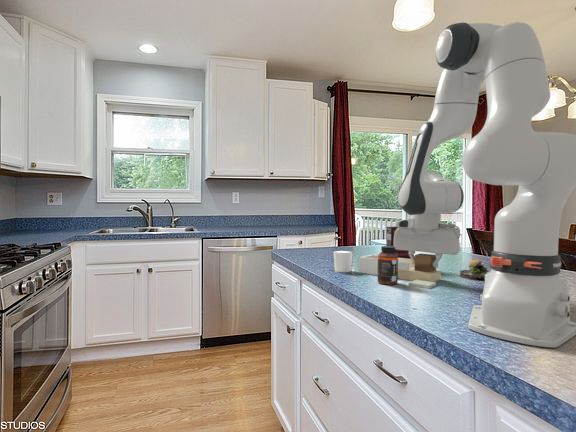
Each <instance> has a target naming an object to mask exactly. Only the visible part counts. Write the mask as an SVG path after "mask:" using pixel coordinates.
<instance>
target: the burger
mask: <svg viewBox="0 0 576 432" xmlns="http://www.w3.org/2000/svg"><path fill="white" fill-rule="evenodd" d="M471 257H473V256H472V255H471ZM482 263H483V262H482V260H480V259H472V261H470V262H469V264H468V268H469V269H462V270H459V277H460V278H462V279H466V280H472V281H476V280H477V279H480V280H481V279H483V280H485V275H486V274H487V273H489V272H490V271H489V270H488V269H487V267H485V266H484V265H483V264H482Z"/></svg>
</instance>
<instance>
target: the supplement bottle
mask: <svg viewBox="0 0 576 432" xmlns="http://www.w3.org/2000/svg"><path fill="white" fill-rule="evenodd" d="M380 251H381V252H379V253H378V254H377V255H378V275H377V283H379V284H380V285H387V286H389V285H390V286H391V285H392V286H394V285H397V284H398V280H399V279H398V255H397V254H396V253H395V247H394V246H386V245H382V246H381V248H380Z"/></svg>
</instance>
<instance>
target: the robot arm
mask: <svg viewBox="0 0 576 432" xmlns="http://www.w3.org/2000/svg"><path fill="white" fill-rule="evenodd" d="M434 57H435V60H436V63H437V65H438V66H439V67H440V68H442V69H443V70H442V72H441V75H440V77H439V80H438V85H437V88H436V92H435V97H434V103H433V110H432V112H431V115H430V117H429V118H428V120H427V121H426V122H425V123H424V124H422V125H421V126H420V128H419V130H418V132H417V135H416V137H415V140H414V144H413V147H412V151H411V153H410V157H409V161H408V165H407V168H406V172H405V174H404V178H403V181H402V183H401V185H400V187H399V189H398V190H399V191H398V194H397V202H398V205H399V207H400V208H401V210H403V212H405V213H406V214H407V215H409V216H410V217H408V218H405V219H401V220H398V221H396V223H395V227H398V228H397V229H396V231H395V233H394V247H395V249H398V250H408V251H409V253H408V254H409V256H410V258H411V259H412V265H415V255H416V252H419V253H420V252H421V253H428V254H434V255H435V256H436V260H435V261H433V262H432V267H435V268H436V269H437V268H439V262H440V261H441V259H442V258H443V255H453V256H454V255H455V256H456V255H458V254H459V253H460V251H461V246H460V237H461V229H460V227H459V226H458V225H456V224H453V223H448V224H447V223H441V221H442V220H441V219H442V218H441V217H442V214H452V213H456V212H458V211H459V210H460V209H461V207H462V205H463V204H464V199H465V198H464V197H465V194H464V190H463V187H461V185H460V183H458V182H456V181H452V180H449V179H446V178H444V177H442V175H441V174H440V172H438V171H434V170H430V171H429V170H427V169H428V166H429V162H430V159H431V157H432V153H433V152H434V150H435V149H436V148H437V147H438V146H439V145H441V144H443V143H445V142H448V141H451V140H453V139H456V138H458V137H461V136H462V135H463V134H465V133H467V132H468V131H469V130H470V129H472V127H473V125H474V122H475V121H476V117H477V112H478V104H479V99H480V98H479V96H480V91H481V90H480V89H481V86H482V84H483V82H484V83H485V84H484V85H485V92H486V102H487V103H486V105H487V114H486V120H485V122H484V125H483V126H482V129H481V130H480V131H479V132H478V133H477V134H476V135H474V136H473V137H472V138H471V139H470V140H469V141H468V143H467V144H466V146H465V147H464V151H463V152H462V167H463V170H464V172H465V174H466V176H467V177H468V178H469V179H470V180H472V181H475V182H479V183H483V184H488V185H492V186H518V189H517V193H516V195H515V197H514V199H513V200H512V201H511V203H510V204H507V205H506V206H504V207H502V208H501V209H499V211H498V212H497V213H496V214H495V217H494V223H493V224H494V231H493V249H492V251H491V253H490V254H491V255H490V258H489V260H490V261H489V268H490V271H488V272H489V273H487V274H486V275H485V279H484V285H483V291H482V293H481V294H480V295H479V297H478V300H479V301H480V302H481V305H473V307H472V309H471V312H470V317H469V320H468V322H467V323H468V325H467V328H468V329H470V330H472V331H473V332H476V333H480V334H482V335H485V336H489V337H493V338H496V339H500V340H501V339H502V340H505V341H510V342H512V343H513V342H514V343H517V344H518V343H519V344H523V345H528V346H529V345H530V346H535V347H536V346H537V347H542V348H552V349H553V348H558V347H560V346H561V345H562V344H564V343H566V342H567V341H569V340H570V339H572V338H573V337H575V336H576V322H574V321H571V319H570V318H571V317H570V310H571V309H570V308H571V305H570V303H571V302H570V298H571V297H570V285H569V284H568V283H567V282H565V280H563V278H561V276H560V273H561V266H562V261H561V255H560V254H559V239H560V238H559V237H560V225H561V218H562V215H563V214H562V213H563V210H564V207H565V205H566V203H567V201H568V199H569V197H570V195H571V194H572V192H573V191H574V189H576V134H572V133H569V132H567V133H566V132H560V131H559V132H557V131H534V129H533V127H532V121H533V120H532V119H533V117H535V116H536V115H538V114H539V113H540V112H542V111H543V110H544V109H545V107H546V106H547V104H549V101H550V99H551V91H550V90H551V89H550V85H549V84H550V83H549V78H548V75H547V74H548V73H547V68H546V67H547V66H546V63H545V62H546V60H545V57H544V54H543V50H542V47H541V44H540V41H539V38H538V37H537V35H536V31H534V29H533V27H532V26H530V24H527V23H525V22H522V21H521V22H519V21H518V22H517V21H516V22H511V23H507V24H504V25H500V24H499V25H498V24H493V23H487V22H485V23H484V22H482V23H479V22H477V23H476V22H474V23H467V22H456V23H452V24H450V25H448V26H447V27H445V28H444V29H443V31H441V33H440V35H439V36H438V39H437V41H436V45H435V51H434Z"/></svg>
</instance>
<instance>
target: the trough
mask: <svg viewBox="0 0 576 432" xmlns="http://www.w3.org/2000/svg"><path fill="white" fill-rule="evenodd" d="M358 260H359V261H358V269H359V270H358V273H359V274H365V273H366V274H367V275H373V276H378V254H369V255H368V254H367V255H362V256H359V259H358ZM441 271H442V270H440V269H436V271H433V272H424V271H416V270H415V265H412V259H405V258H398V278H399V279H398V280H404V281H409V282H411V281H414V280H423V281H429V282H436V283H437V282H438V281H440V280H441V279H442V276H441Z"/></svg>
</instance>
